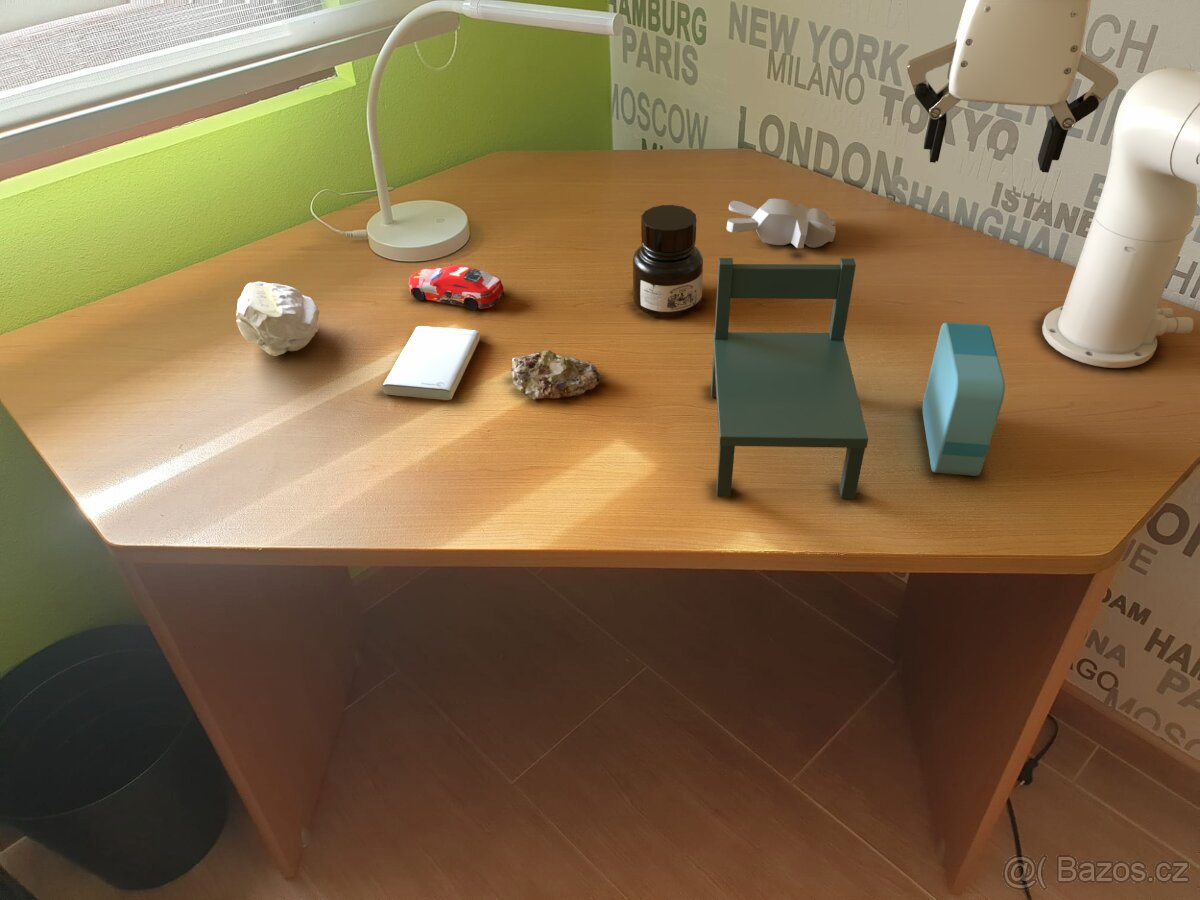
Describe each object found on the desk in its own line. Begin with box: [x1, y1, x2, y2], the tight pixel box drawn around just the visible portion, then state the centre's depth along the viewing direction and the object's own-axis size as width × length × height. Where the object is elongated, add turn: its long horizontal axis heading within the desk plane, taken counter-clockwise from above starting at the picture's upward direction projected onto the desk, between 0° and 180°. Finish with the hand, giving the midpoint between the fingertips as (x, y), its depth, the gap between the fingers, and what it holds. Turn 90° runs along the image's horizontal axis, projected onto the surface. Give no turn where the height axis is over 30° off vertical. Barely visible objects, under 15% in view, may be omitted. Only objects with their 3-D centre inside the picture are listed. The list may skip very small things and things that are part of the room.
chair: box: [710, 257, 869, 500], centre depth 97 cm, size 14×18×17 cm
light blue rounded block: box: [922, 322, 1006, 477], centre depth 98 cm, size 12×4×12 cm, turn 171°
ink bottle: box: [632, 204, 704, 319], centre depth 121 cm, size 10×9×12 cm
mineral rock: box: [510, 349, 602, 400], centre depth 111 cm, size 11×4×8 cm
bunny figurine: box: [726, 198, 836, 249], centre depth 135 cm, size 10×5×15 cm
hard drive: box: [382, 325, 481, 401], centre depth 115 cm, size 2×8×12 cm
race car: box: [408, 264, 505, 311], centre depth 126 cm, size 13×5×4 cm, turn 68°
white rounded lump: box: [235, 281, 320, 357], centre depth 117 cm, size 12×8×10 cm
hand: (987, 161), depth 88 cm, fingers open, 9 cm apart
